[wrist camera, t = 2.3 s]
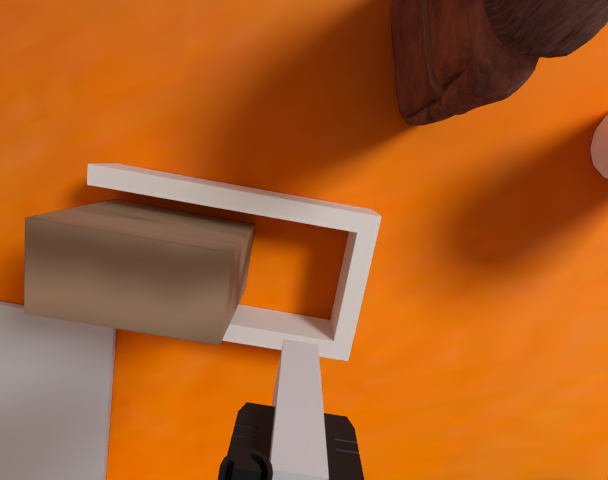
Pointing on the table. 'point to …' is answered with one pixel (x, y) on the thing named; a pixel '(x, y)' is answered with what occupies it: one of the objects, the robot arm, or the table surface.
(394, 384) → the table surface
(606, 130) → the foam cup
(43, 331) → the mat
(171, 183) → the bay
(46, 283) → the walnut block
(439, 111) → the wooden figurine
